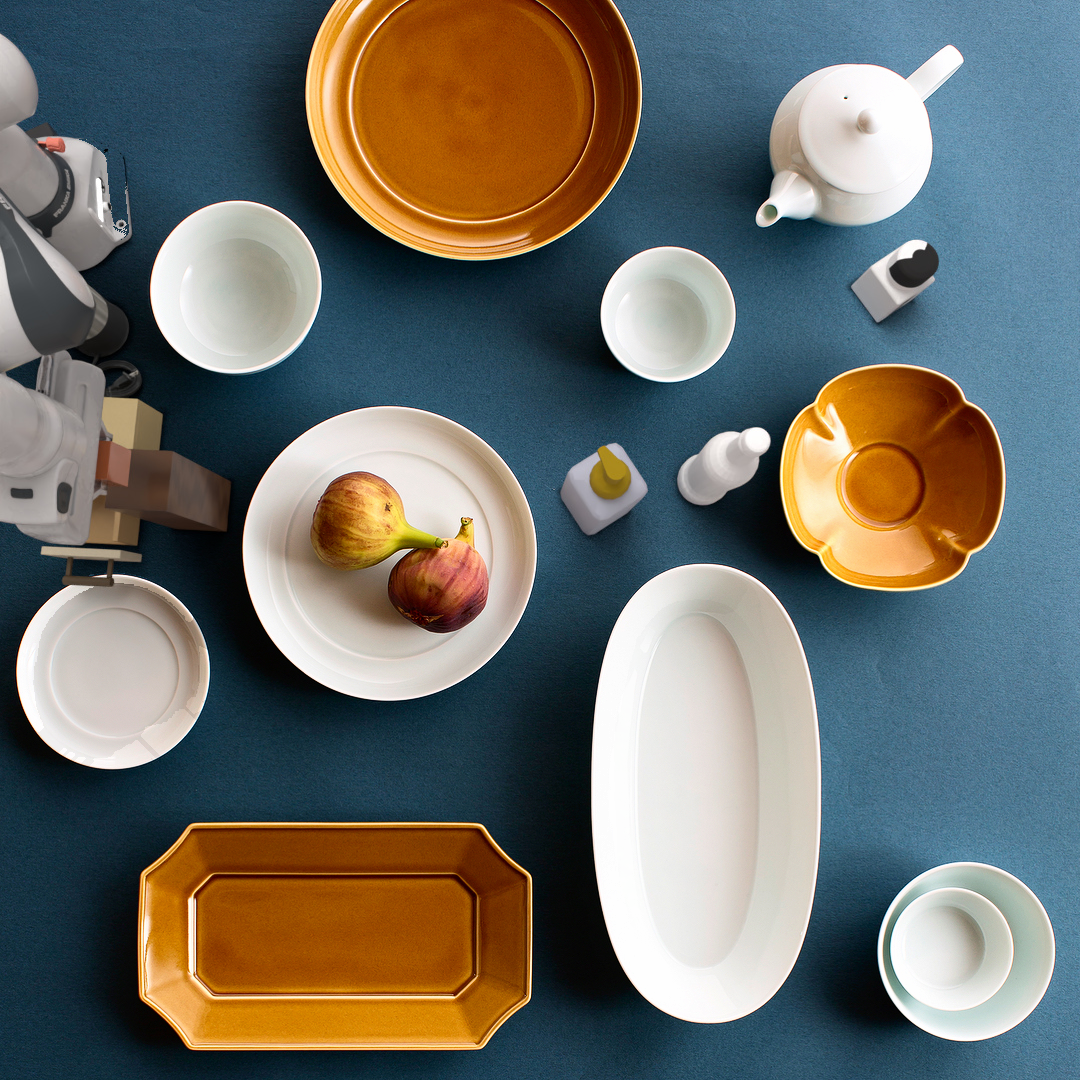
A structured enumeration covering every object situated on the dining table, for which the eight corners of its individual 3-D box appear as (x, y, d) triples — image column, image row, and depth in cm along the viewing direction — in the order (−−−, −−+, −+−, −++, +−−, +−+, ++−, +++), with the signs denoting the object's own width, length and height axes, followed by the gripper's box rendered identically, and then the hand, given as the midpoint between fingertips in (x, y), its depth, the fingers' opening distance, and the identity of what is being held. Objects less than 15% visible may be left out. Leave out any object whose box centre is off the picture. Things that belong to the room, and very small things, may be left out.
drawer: (138, 589, 122) (116, 586, 115) (63, 585, 122) (37, 583, 115) (150, 476, 124) (129, 467, 117) (76, 472, 124) (51, 463, 117)
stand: (180, 478, 125) (110, 447, 103) (231, 481, 125) (173, 451, 104) (175, 529, 124) (104, 508, 102) (226, 531, 124) (167, 511, 103)
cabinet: (153, 504, 124) (127, 495, 116) (72, 500, 124) (40, 491, 115) (163, 414, 126) (138, 398, 118) (82, 409, 126) (51, 393, 117)
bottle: (693, 448, 129) (749, 394, 99) (734, 476, 129) (802, 431, 99) (665, 487, 128) (713, 445, 98) (706, 516, 128) (767, 483, 98)
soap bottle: (602, 463, 128) (625, 423, 103) (633, 509, 127) (663, 480, 103) (556, 492, 127) (568, 459, 102) (586, 539, 127) (606, 517, 102)
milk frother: (93, 291, 128) (38, 247, 113) (176, 339, 127) (133, 302, 113) (43, 364, 126) (-19, 330, 111) (127, 413, 126) (77, 385, 111)
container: (912, 299, 133) (955, 264, 120) (876, 323, 133) (916, 291, 120) (885, 263, 134) (925, 224, 121) (849, 287, 133) (885, 250, 120)
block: (93, 448, 96) (71, 438, 91) (131, 450, 96) (111, 441, 91) (89, 484, 95) (67, 477, 90) (127, 486, 96) (107, 479, 91)
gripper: (15, 337, 81) (86, 378, 95) (-9, 535, 79) (67, 547, 93) (77, 341, 81) (139, 381, 95) (55, 538, 79) (122, 550, 93)
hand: (103, 465), depth 94 cm, fingers closed on block, 4 cm apart
